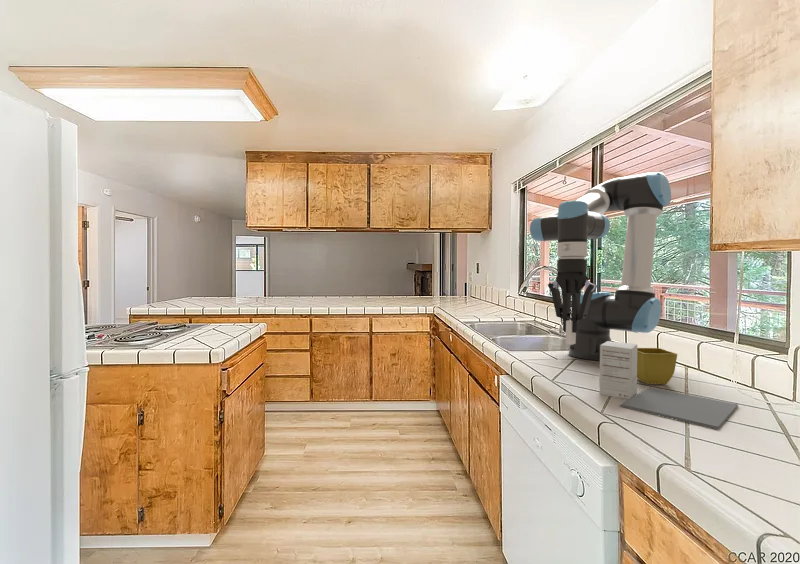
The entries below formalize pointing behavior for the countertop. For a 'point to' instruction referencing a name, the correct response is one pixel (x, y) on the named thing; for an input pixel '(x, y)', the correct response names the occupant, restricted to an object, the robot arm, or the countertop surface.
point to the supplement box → (618, 369)
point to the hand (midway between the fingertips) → (570, 343)
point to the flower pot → (655, 365)
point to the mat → (682, 407)
